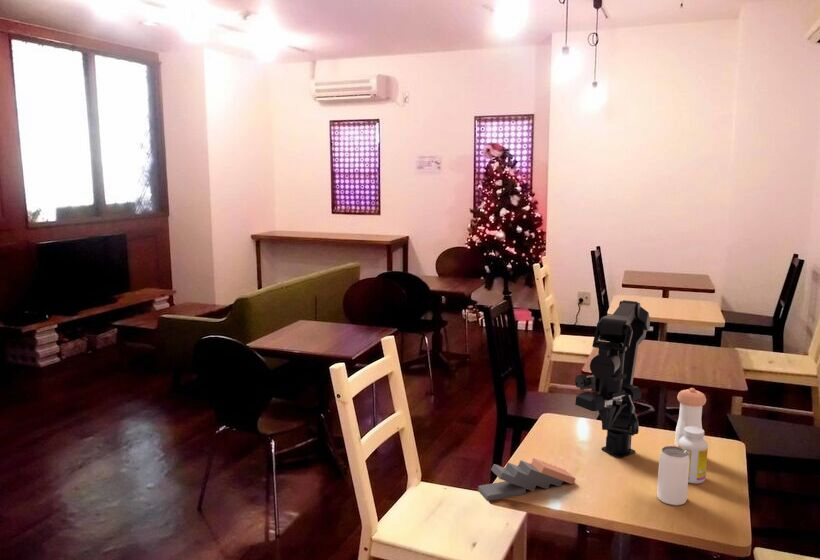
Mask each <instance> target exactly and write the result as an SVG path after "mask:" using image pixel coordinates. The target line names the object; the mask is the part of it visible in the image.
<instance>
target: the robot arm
mask: <svg viewBox="0 0 820 560" xmlns="http://www.w3.org/2000/svg"><path fill="white" fill-rule="evenodd" d="M650 325H651V318H650V313H649V311H648V310H646V309H645V308H643V307H642V306H641V303H640V302H638V301H634V300H625V299H623V300H620V301H619V304H618V306H617V307H616V310H614V312H613V313H612V315H604V316H602V317H601V318H600V320H599V321H597V324H596V326H595V327H596V328H595V332H594V337H593V342H592V348H597V349H598V352H597V354H596V355H595V356H594V357H592V359H591V361H590V363H589V370H590V372H591V374H592V375H586V374H585V373H581V374H576V375H575V376H574V377H575V378H574V385H575V387H576V388H578V389H579V391H584V390H591V392H590V391H585V392H582V393H578V394H576V395H575V400H574V404H575V406H578V407H580V408H582V409H586V410H587V411H591V412H598V414H599V418H600V420H601V430H603V431H606V438H605V446H602V447H601V450H602V451H604V452H606V453H608V454H610V455H612V456H615V457H617V458H620V459H621V458H624V457H627V456H630V455H633V454H635V453H636V450H635V449H633V448H632V437H635V435H638V434H639V431H640V429H639V428H640V427H639V419H638V417H637V416H638V415H637V413H636V407H635V404H634V402H633V401H637V400H640V399H642V390H641V389H640V387H639V386H636V385H634V384H633V382H634V376H635V370H636V365H637V364H636V361H637V357H638V356H637V355H638V348H639V345H640V344H641V343H642V342H643V341H644V340H645V339H646V335H647V332H648V331H649V330H650ZM593 392H594V393H593ZM596 393H597V394H596Z"/></svg>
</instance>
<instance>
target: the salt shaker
mask: <svg viewBox="0 0 820 560" xmlns="http://www.w3.org/2000/svg"><path fill="white" fill-rule="evenodd" d="M677 401H678V402H679V413H678V420H677V423H676V427H675V434H674V435H675V436H674V441H673V444H672V446H675V447H678V444H679V439H680V438H681V437H683V436H684V433H683V432H684V428H685V427H687V426H694V427H699V428H701V429H703V425H702V414H703V406H705V404H706V402H707V398H706V395H705V394H704V393H703V392H701V391H699V390H696V389H695V388H694V387H690V388H688V389H682V390H680V391H679V392H678V394H677Z"/></svg>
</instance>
